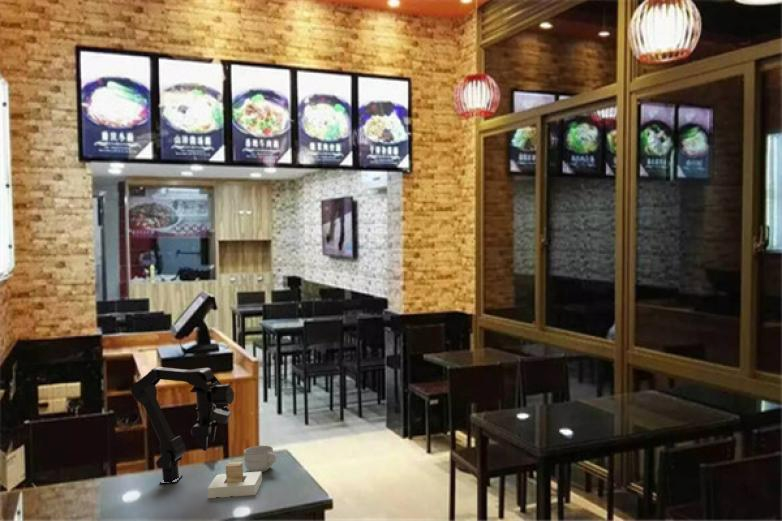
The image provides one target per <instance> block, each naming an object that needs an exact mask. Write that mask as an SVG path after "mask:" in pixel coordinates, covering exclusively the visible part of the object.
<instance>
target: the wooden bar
mask: <svg viewBox="0 0 782 521" xmlns="http://www.w3.org/2000/svg"><path fill="white" fill-rule="evenodd" d="M243 473H244V467H243V461H237V462H236V461H235V462H227V464H226V465H225V474H226V478H227V483H236V482H244V478H243Z"/></svg>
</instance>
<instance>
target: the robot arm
mask: <svg viewBox="0 0 782 521" xmlns="http://www.w3.org/2000/svg"><path fill="white" fill-rule="evenodd" d="M161 380H163V381H173V382H174V381H175V382H185V383H187V384H189V385H190V386H193V387H192V389H191V390H190V391H189V392H190V393H195V397H196V408H195V412H196V413H197V419H196V423H195V424H194V425H193V426H192V427H191V428H190V434H191V436H192V437H194V438H195V440H196V441H197V442H198V444H199V446H200V448H201V450H202V451H204V452H207V450H208V441H209V442H210V443H214V441H215V436H216V431H217V426H218V425H219V424H220V423H221V424H222V425H227V423H228V422H229V421H230V417H231V415H232V411H230V407H229V406H227V405H229V404H230V405H231V404H232V403H233V402H234V398H235V391H234V390H233V388H232V387H231V384H230V383H229V384H228V383H227V384H221V382H220V381H219V379H218V378H217V377H216V376H215V374H214V372H213V370H212V369H211V368H210V367H202V368H200V367H199V368H194V369H193V368H192V369H182V368H173V367H163V366H157V367H154V368H152V369H150V371H149V372H148V373H147V374H145V375H144V376H143V377H141V378H140V379H139V380H138V381H135V382H133V383H132V384H131V388H130V392H131V394H132V396H133V398H134V399H135V400H136V402H138V403H140V404H141V405H142V406H143V407H144V410H145V411H146V413H147V417H148V418H149V420H150V423H151V424H152V425H151V426H152V427H153V429H154V431H155V433H156V436H157V437H158V439H159V452H160V455H161V456H160V457H159V458H158V460H156V462H155V465H156V467H157V468H158V469H161V473H162V479H163V480H164V482H172V481H173V480H175V479H177V478H179V475H180V473H179V469H180V468H179V462H180V461H183V460H182V459H183V456H184V455H185V452H186V443H185V442H184V441H183V440H184V439H183V436H181V435H178V436H176V435H175V434H174V432H173V431H172V429H171V427H170V424H169V422H168V421H167V419H166V417H165V414H164V413H163V409H162V408H161V406H160V404H159V402H158V398H157V397H158V396H157V394H158V393H157V391H158V390H157V387H156V385H158V384H159V383H160V381H161ZM217 405H225V406H223V408H217Z"/></svg>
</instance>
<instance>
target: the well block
mask: <svg viewBox="0 0 782 521" xmlns="http://www.w3.org/2000/svg"><path fill="white" fill-rule="evenodd" d="M243 478H244V482H236V483H227V478H226V473H221V474H220V473H219V474H216V476H215V477H214V478H213V480H212V481H211V483H210V484H209V485H208V487H207V497H208V498H207V499H216V497H220V498H231V497H230V496H233V497H244V496H246V497H247V496H255V495H257V492H258V491H259V490H260V489H259V488H260V486H261V485H262V483H263V472H262V471H259V472H251V471H248V472H243Z"/></svg>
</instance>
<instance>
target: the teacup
mask: <svg viewBox="0 0 782 521" xmlns="http://www.w3.org/2000/svg"><path fill="white" fill-rule="evenodd" d="M273 450H274V447H273V446H270V445H256V446H251V447H247V448H246V449H244V450H243V457H244V458H243V459H244V466H245V468H246V469H247V470H248V471H249V472H259V471H262V473H264V472H266V471H268V470H269V469H270V468H271V467H272V466H273V464H274V463H275V462H276V459H277V457H276V454H275V453H274V451H273Z"/></svg>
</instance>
